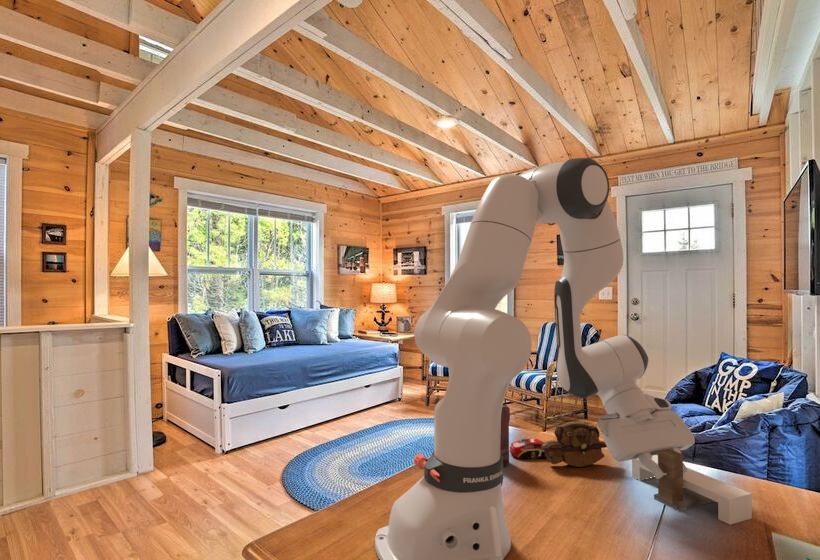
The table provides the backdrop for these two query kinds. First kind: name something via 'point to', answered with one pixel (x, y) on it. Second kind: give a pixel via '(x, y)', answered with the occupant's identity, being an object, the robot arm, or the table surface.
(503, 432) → the can
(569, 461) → the wooden carving
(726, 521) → the low shelf
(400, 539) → the robot arm
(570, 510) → the table surface
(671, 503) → the brown l-shaped block
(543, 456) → the race car
